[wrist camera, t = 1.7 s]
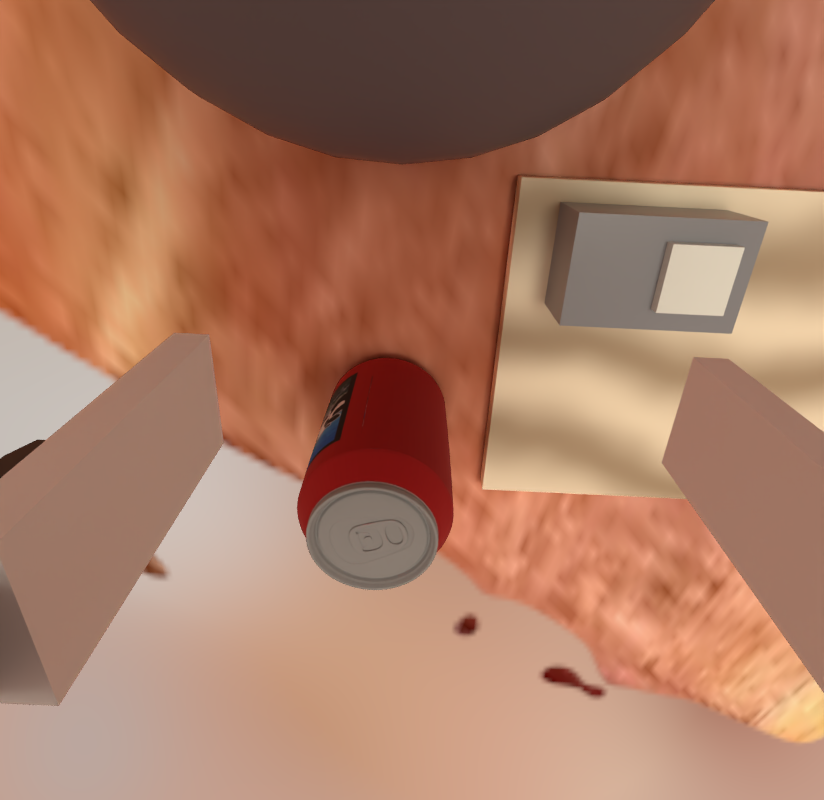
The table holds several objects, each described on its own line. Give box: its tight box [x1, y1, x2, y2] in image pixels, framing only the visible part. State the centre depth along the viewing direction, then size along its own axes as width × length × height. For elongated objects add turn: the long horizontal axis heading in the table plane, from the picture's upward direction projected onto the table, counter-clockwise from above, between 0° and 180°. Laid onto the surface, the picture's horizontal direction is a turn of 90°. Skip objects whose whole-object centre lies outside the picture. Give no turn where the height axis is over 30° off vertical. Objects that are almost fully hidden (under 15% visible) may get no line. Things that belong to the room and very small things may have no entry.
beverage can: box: [297, 358, 453, 590], centre depth 27 cm, size 7×7×12 cm
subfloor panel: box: [481, 175, 824, 499], centre depth 30 cm, size 18×32×1 cm, turn 87°
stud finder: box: [545, 202, 769, 334], centre depth 25 cm, size 5×8×4 cm, turn 88°
